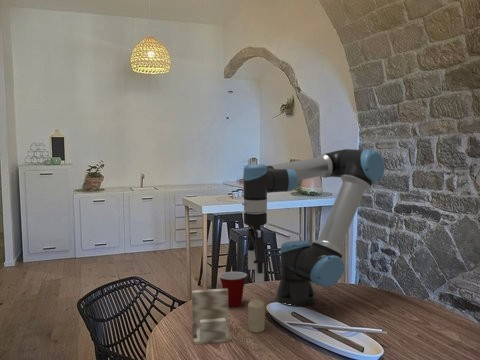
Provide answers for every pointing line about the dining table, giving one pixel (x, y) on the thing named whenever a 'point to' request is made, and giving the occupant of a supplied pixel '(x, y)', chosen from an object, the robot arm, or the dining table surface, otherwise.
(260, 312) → the candle
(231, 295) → the plastic cup
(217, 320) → the beige u-shaped bracket
